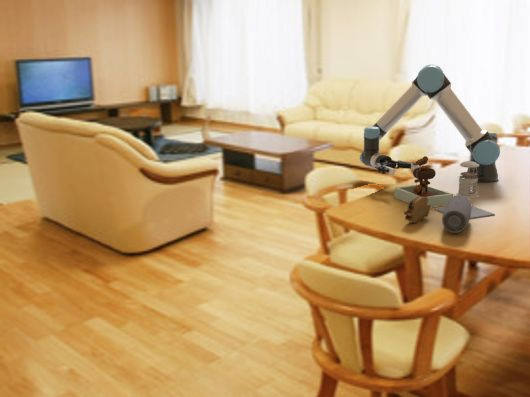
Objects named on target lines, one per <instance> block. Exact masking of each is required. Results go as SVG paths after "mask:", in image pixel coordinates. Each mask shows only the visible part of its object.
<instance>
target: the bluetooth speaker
mask: <svg viewBox="0 0 530 397" xmlns="http://www.w3.org/2000/svg"><path fill="white" fill-rule="evenodd" d="M471 206H472V203H471V200H470V198H467V197H466V196H463V195H456V194H455V195H453V197H452V198H451V199H450V200H449V202H448V204H447V205H445V207H446V208H445V207H444V208H445V209H444V213H442V219H441V222H442V226H443V228H444V229H445V230H446V231H447V232H449V233H455V234H457V233H461V232H462V231H464V230H465V228H466V227H467V226H468V223H469V221H470V220H471V219H470V216H471Z"/></svg>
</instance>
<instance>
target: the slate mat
mask: <svg viewBox="0 0 530 397" xmlns="http://www.w3.org/2000/svg"><path fill="white" fill-rule="evenodd" d="M445 208H446V206H445V207H439V208H438V207H437V208H435V209H434V210H435V211H437V212H439V213H442V214H443V213H444V209H445ZM492 216H495V213H494V212H490V211H487V210H485V209H482V208H479V207H477V206H474V205H471V216H470V220H473V219H478V218H484V217H485V218H486V217H492Z"/></svg>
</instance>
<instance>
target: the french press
mask: <svg viewBox="0 0 530 397" xmlns="http://www.w3.org/2000/svg"><path fill="white" fill-rule="evenodd" d="M469 142H473V140H472V139H470V140H469ZM470 152H471V144H470V151H469V153H470ZM459 166H460V167H463V168H467V169H468V168H474V169H472V170H473V173H471V172H467V171H462V172H460V175H459V176H458V182H459V183H458V192H457V193H456V194H455V196H456V195H463V196H466V197H467V198H468V199H474V198H475V199H476V198H478V197H480V194H478V184H479V182H478V177H477V175H478V174H477V173H474V170H475V167H479V164H477V163H476V162H473V161H470V159H469V160H467V161H462V162H461V163H459ZM476 170H477V168H476ZM471 176H473V177H472V179H471Z"/></svg>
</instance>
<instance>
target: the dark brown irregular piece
mask: <svg viewBox="0 0 530 397" xmlns="http://www.w3.org/2000/svg"><path fill="white" fill-rule="evenodd" d="M428 161H429V156H425V155H424V156H423V157H422V158H419V159H417V161H415V162H414V163H415V164H412V165H416V166H417V165H418V166H420V167H419V168H418V166H417V168H416V169H414V170H412V175H413V177H414V178H415V179H414V183H415V185H416V186H415V188H414V191H413V192H411V193H413V194H416V195H419V196H421V197H423V196H425V197H429V196H435V194H434V193H433V192H430V191H427V190H428V185H431V182H430V181H429V180H432V179H434V178H435V176H436V174H437V173H436V170H435V169H434V168H433V167H429V166H428ZM424 165H425V166H424ZM418 183H419V184H418ZM417 185H418V186H417ZM422 187H423V188H425V191H423V188H422Z"/></svg>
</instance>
